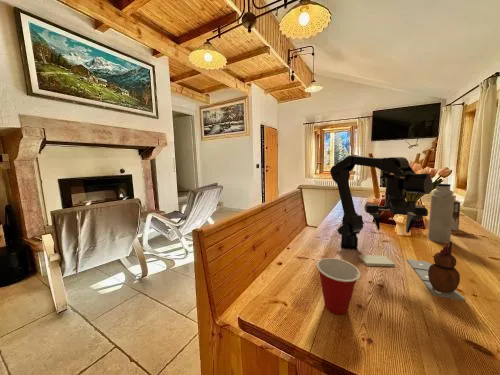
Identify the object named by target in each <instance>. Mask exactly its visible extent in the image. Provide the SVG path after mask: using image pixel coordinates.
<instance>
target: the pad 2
mask: <svg viewBox="0 0 500 375" xmlns="http://www.w3.org/2000/svg"><path fill="white" fill-rule="evenodd" d="M413 270H414V271H415V274H417V276H418V277H419V278H420V280H421V281H422V282H424V281H426V282H430V281H429V277H428V271H425V270H417V269H413Z"/></svg>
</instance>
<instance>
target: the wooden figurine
mask: <svg viewBox="0 0 500 375" xmlns="http://www.w3.org/2000/svg"><path fill="white" fill-rule="evenodd" d="M452 247H453V241H451V240H450V242H449V243H445V246H443V247H442V249H440V252H436V253H435V254H434V255H433V262H434V263H433V264H432V263H431V266H430V267H429V270H428V277H429V281H430V283H431V285H432V287H433V288H435V289H436V290H439V291H442V292H447V293H450V292H454V291H455V290H457V289H458V287H459V285H460V280H461V274H460V272H459V271H458V270H457V268H456V265H457V258H456V257H455V256H454V255H452Z"/></svg>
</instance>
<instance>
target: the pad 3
mask: <svg viewBox="0 0 500 375" xmlns="http://www.w3.org/2000/svg"><path fill="white" fill-rule="evenodd" d="M423 284H424V285H425V286H426V288H427V289H428V290H429V291H430V293H431V294H432V295H433V297H440V298H445V299H450V300H451V299H452V300H457V301H463V302H465V301H466V299H465V297H464V296H463V295H462V294H461V293H459V291H457V289H456V290H455V291H454V292H450V293H447V292H442V291H439V290H436V289H435V288H433V287H432V285H431V283H430V282H426V281H423Z"/></svg>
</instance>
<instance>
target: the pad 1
mask: <svg viewBox="0 0 500 375" xmlns="http://www.w3.org/2000/svg"><path fill="white" fill-rule="evenodd" d="M406 262H407V263H408V264H409V265H410V267H411V268H412V269H413V270H414V269H417V270H425V271H428V270H429V267H430V266H431V265H432V263H430V261H424V260H416V259H415V260H414V259H406Z"/></svg>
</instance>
